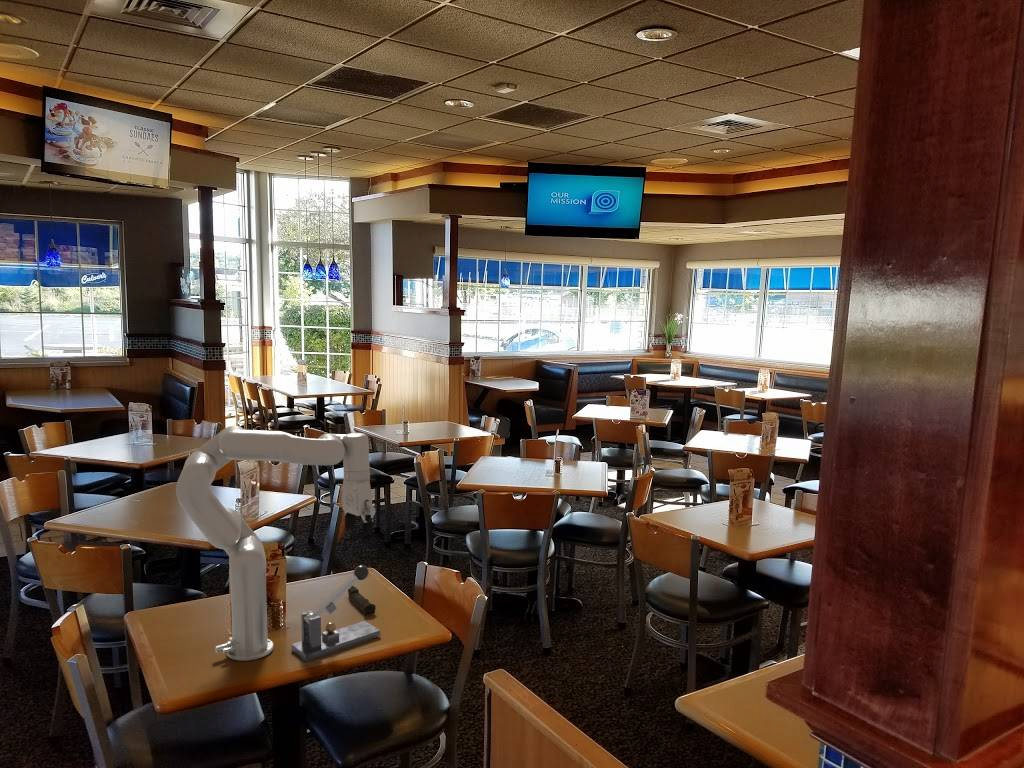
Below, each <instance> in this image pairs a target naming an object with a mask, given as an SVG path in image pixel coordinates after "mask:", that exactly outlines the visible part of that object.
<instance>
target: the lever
mask: <svg viewBox="0 0 1024 768" xmlns="http://www.w3.org/2000/svg"><path fill="white" fill-rule="evenodd" d="M369 571H370V570H369V569H368V567H367V566H365V564H364V565H363V564H360V565H358V566H356V567H355V568H354V570H353V575H351V576H350V577H349V578H348V579H347V580H345V582H344V583H342V584H341V585H340V586H339V587H338V588H337V589H336V590H335V591H334V592H332V593H331V595H330V596H328V597H327V598H326V599H325V600H324V601H323V602H322V603H321V604H319V606H317V607H316V608H315V609H314V610H312V611H313V612H307V611H306V612H307V613H306V614H305V615H304V621H305V622H307V623H308V624H309V618H312V617H316V616H320V617H321V615H322V614H323V613H324V612H326V613H327V614H329V615H332V614H333V613H334V612H335V611H337V609H338V607H336V604H335V602H337V600H339V599H340V598H341V597H342V596H343V595H344V594H345V593H346V592H348V589H349V588H351V587H352V586H354V585H355V584H356V583H357V582H358V581H364V580H366V579H367V578H368V576H369V573H370V572H369Z"/></svg>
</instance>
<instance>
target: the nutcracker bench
mask: <svg viewBox="0 0 1024 768" xmlns="http://www.w3.org/2000/svg"><path fill="white" fill-rule="evenodd" d="M313 611H314V610H308V611H304V612H301V613H300V615H301V616H300V617H301V619H300V620H301V622H300V623H301V640H300V641H296V642H294V643H291V651H292V652H293V653H294V654H295V655H296V656H298V657H299V658H300V659H302V660H303V661H305V662H306V663H308V662H310V661H313V660H316V659H319V658H322V657H325V656H327V655H330V654H334V653H337V652H339V651H342V650H345V649H349V648H351V647H353V646H357V645H360V644H363V643H366V642H368V641H367V640H369V641H371V640H370V639H372V638H375V637H378V636H380V637H381V629H379V628H378V627H376V626H374V625H373V624H371V623H370V622H368V621H366V620H362V621H360V622H356V623H354V624H349V625H347V626H344V627H340V628H338V629H336V628H337V627H336V624H335V623H334V622H332V621H329V622H327V623H326V624H325V626H324V629H325V631H322V617H321V615H320V616H316V617H312V618H309V624H308V623H307V622H305V621H304V615H305V614H306V613H307V612H313ZM378 638H379V637H378ZM375 639H376V638H375ZM372 640H373V639H372ZM365 641H366V642H365Z"/></svg>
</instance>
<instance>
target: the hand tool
mask: <svg viewBox="0 0 1024 768" xmlns="http://www.w3.org/2000/svg"><path fill="white" fill-rule="evenodd" d="M359 591H360V590H359V589H358V588H357V587H356V586H354V585H353V586H352V587H351V588H349V589H348V590H347V593H348V598H349V601H350V602H351V603H354V605H355V606H357V608H358V609H359V610H361V611H362V612H363V615H364V617H368V616H367V615H370V616H372V615H371V614H373V615H375V614H376V605H375V604H374V603H371V602H370V601H369V599H367V598H365V596H363V595H362V594H361V593H360V592H359Z"/></svg>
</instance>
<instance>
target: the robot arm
mask: <svg viewBox="0 0 1024 768" xmlns="http://www.w3.org/2000/svg"><path fill="white" fill-rule="evenodd" d="M369 443H370V442H369V437H368V434H366V433H363V432H351V433H347V434H339V433H325V434H324V433H323V434H321V435H320V436H319V437H317V438H308V437H307V438H306V437H300V436H296V435H293V434H291V433H288V432H285V431H280V430H258V429H257V430H254V429H246V428H245V429H244V428H243V427H241V426H239V425H230V426H227V427H225V428H223V429H222V430H221V431H219V432H218V433H217V434H216V435H214V436H213V437H212V438H210V439H209V440H207V441H206V442H205V443H203V445H201V446H200V447H199V448H197V449H196V450H194V451H192V453H190V454H189V456H188V457H187V458H186V459H185V462H184V465H183V469H182V470H181V473H180V475H179V477H178V479H177V482H176V486H175V487H176V488H175V494H176V495H175V496H176V498H177V502H178V504H179V506H180V507H181V508H182V510H183V511H184V512H185V514H186V515H187V516H188V518H189V519H190V520H191V521H192V522H193V523H194V524H195V526H196V527H197V528H198V530H199V531H200V532H201V534H203V536H204V538H206V540H207V541H208V542H209V544H210V545H212V546H213V547H215V548H217V549H220V550H223V551H225V553H226V554H227V556H229V565H228V567H229V581H230V583H229V584H230V585H229V587H230V604H231V605H230V608H231V610H230V611H231V630H232V631H231V635H232V636H231V637H229V638H228V641H226V642H225V643H223V644H222V643H221V644H219V645H215V646H214V650H215V653H216V654H219V653H221V652H222V654H223V655H225V654H226V656H227V657H228V658H229V659H231V660H234V661H240V662H244V661H245V662H246V661H253V660H254V661H255V660H258V659H261V658H263V657H266V656H268V655H269V654H271V652H273V650H274V642H273V641H272V640H271V639H269V638H268V611H267V610H268V607H267V606H268V605H267V604H268V603H267V601H268V600H267V560H266V559H267V558H266V553H265V549H264V548H265V547H264V545H263V544H264V543H263V542H262V541H261V539H260V538H259V536H258V535H257V533H255V531H254V530H253V529H252V528H251V526H249V524H248V522H246V520H245V519H244V518H243V517H242V516H241V514H240V513H238V512H237V511H236V510H234V509H233V508H230V507H225V506H224V505H223V504H222V503H221V501H220V500H219V498H218V497H216V496H215V494H214V493H213V492H212V490H211V486H212V483H213V482H214V480H215V478H216V475H217V472H218V471H219V470H221V469H222V468H224V467H225V466H226V465H227V464H228V463H230V462H231V461H262V462H280V463H287V464H296V465H297V464H298V465H305V466H306V465H308V466H334V465H337V464H339V463H340V462H342V463H343V465H342V466H343V481H342V492H341V500H340V501H341V506H342V510H343V516H344V527H345V529H351V528H355V527H356V517H359V516H361V519H362V522H361V525H362V526H361V529H362V531H361V532H362V536H364V537H366V536H370V535H373V534H374V527H373V525H374V524H373V523H374V519H375V514H376V508H375V507H374V506H373V495H372V489H371V483H370V482H371V481H370V480H371V474H370V471H371V470H370V448H369V447H370V446H369Z"/></svg>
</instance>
